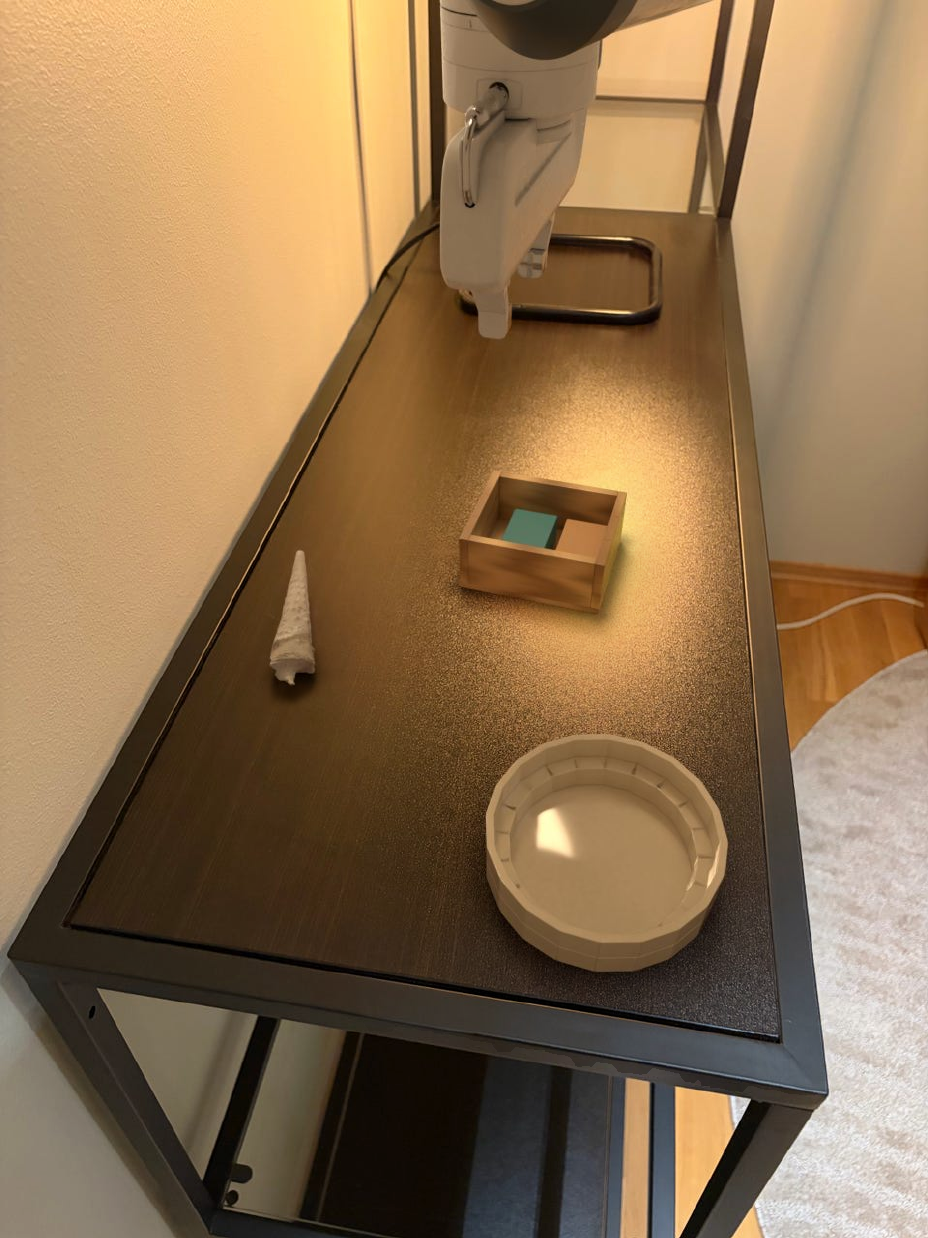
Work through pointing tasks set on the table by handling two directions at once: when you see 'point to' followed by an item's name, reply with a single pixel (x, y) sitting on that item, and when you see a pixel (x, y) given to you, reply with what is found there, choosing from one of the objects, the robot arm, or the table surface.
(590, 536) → the tan rectangular block
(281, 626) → the seashell
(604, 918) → the bowl
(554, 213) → the robot arm
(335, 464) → the table surface
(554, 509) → the holder
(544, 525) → the teal rectangular block
